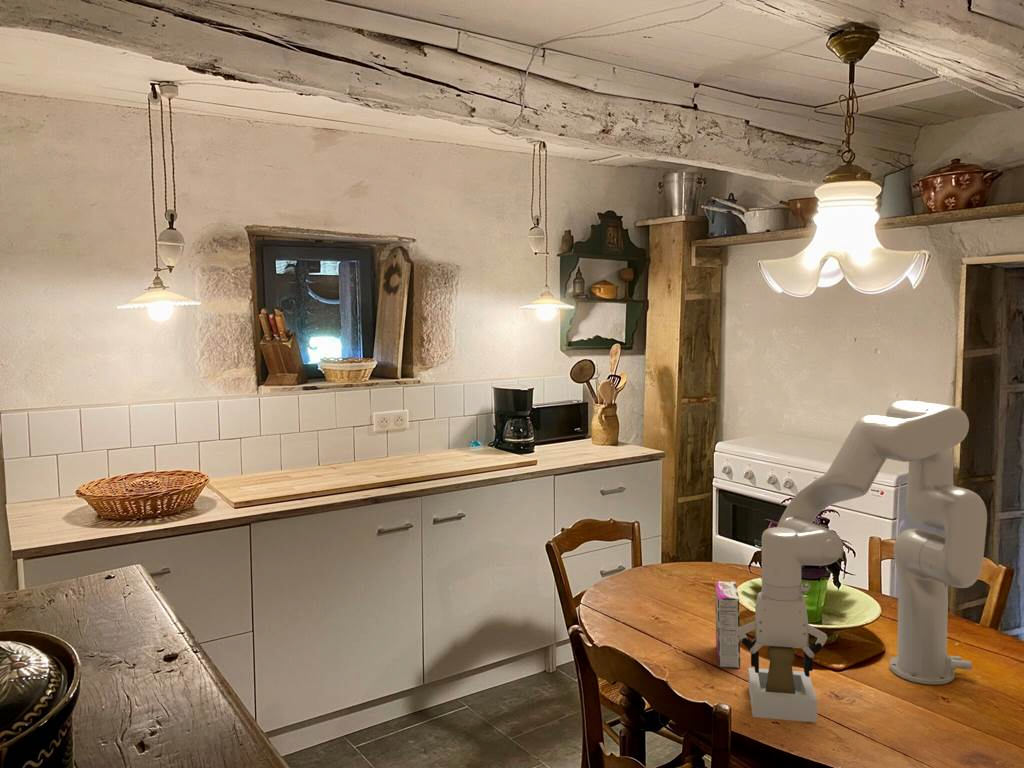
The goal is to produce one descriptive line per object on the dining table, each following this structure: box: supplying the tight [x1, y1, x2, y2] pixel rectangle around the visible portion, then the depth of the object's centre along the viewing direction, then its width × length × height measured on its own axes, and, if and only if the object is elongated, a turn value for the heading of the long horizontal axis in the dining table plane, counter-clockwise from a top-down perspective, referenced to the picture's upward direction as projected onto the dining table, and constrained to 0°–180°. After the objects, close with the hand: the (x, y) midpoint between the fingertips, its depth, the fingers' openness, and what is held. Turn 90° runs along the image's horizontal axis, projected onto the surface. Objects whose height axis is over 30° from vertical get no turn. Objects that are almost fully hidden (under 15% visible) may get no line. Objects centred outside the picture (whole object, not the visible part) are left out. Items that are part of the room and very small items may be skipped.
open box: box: [747, 667, 818, 723], centre depth 157 cm, size 12×12×5 cm
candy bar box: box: [714, 580, 741, 669], centre depth 178 cm, size 11×5×16 cm, turn 168°
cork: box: [765, 646, 795, 694], centre depth 156 cm, size 6×6×11 cm
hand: (781, 671), depth 156 cm, fingers open, 9 cm apart
